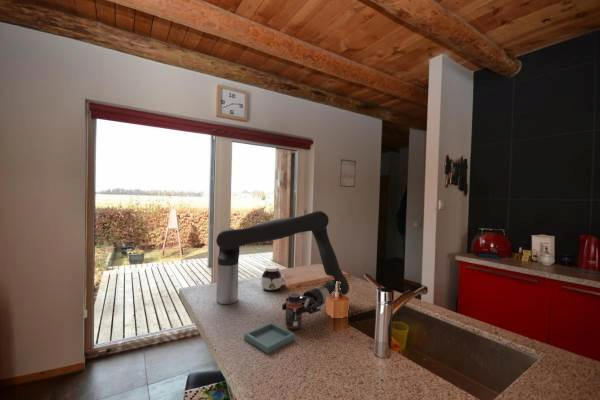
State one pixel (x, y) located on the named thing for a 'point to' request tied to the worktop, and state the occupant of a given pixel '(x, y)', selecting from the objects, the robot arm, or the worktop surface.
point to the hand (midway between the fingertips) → (289, 309)
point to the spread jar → (272, 279)
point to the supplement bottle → (293, 311)
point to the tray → (269, 337)
